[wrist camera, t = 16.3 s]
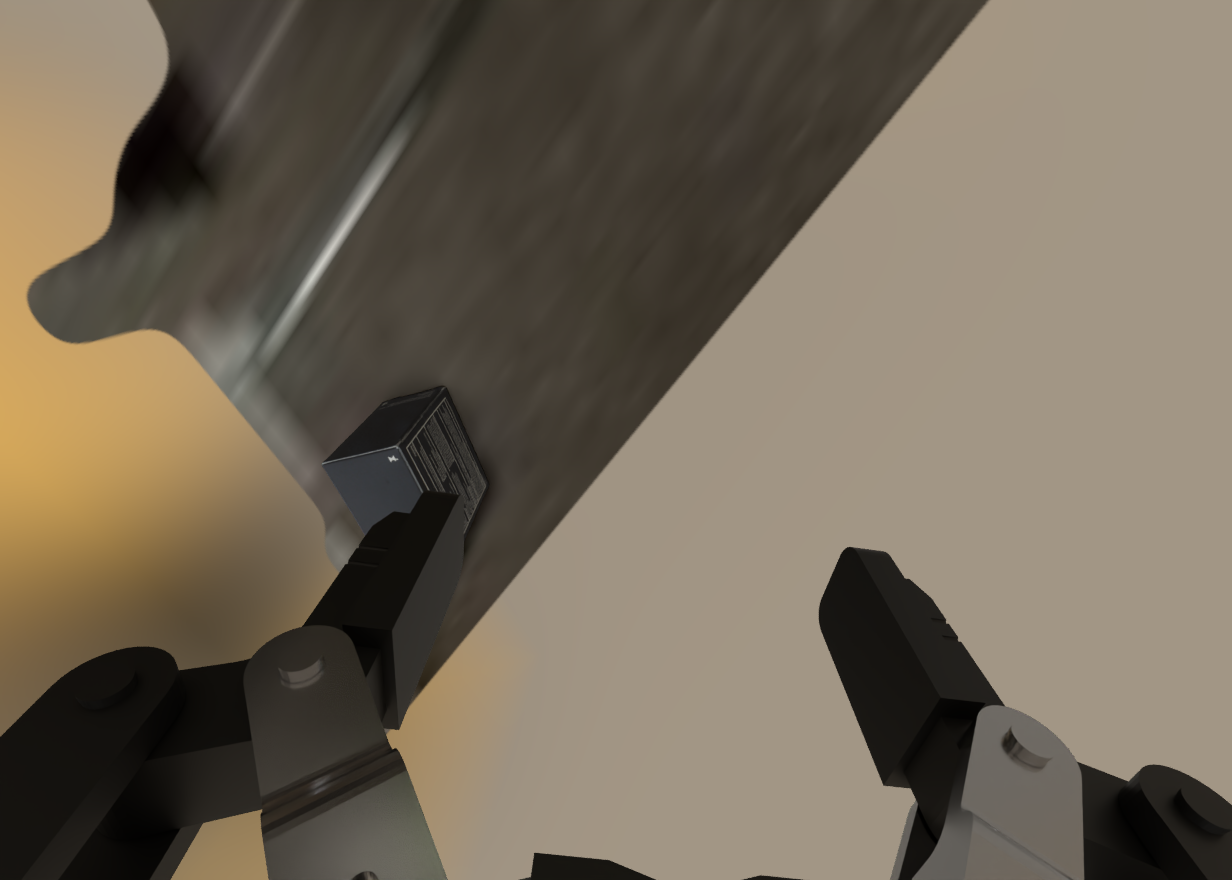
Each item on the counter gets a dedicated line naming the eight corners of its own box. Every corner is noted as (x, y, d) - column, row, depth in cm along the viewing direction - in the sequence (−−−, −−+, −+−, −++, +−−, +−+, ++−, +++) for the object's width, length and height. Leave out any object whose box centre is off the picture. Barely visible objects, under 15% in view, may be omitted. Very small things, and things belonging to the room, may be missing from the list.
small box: (376, 401, 46) (313, 463, 37) (446, 383, 46) (399, 442, 36) (428, 500, 51) (383, 577, 42) (492, 485, 50) (460, 561, 41)
